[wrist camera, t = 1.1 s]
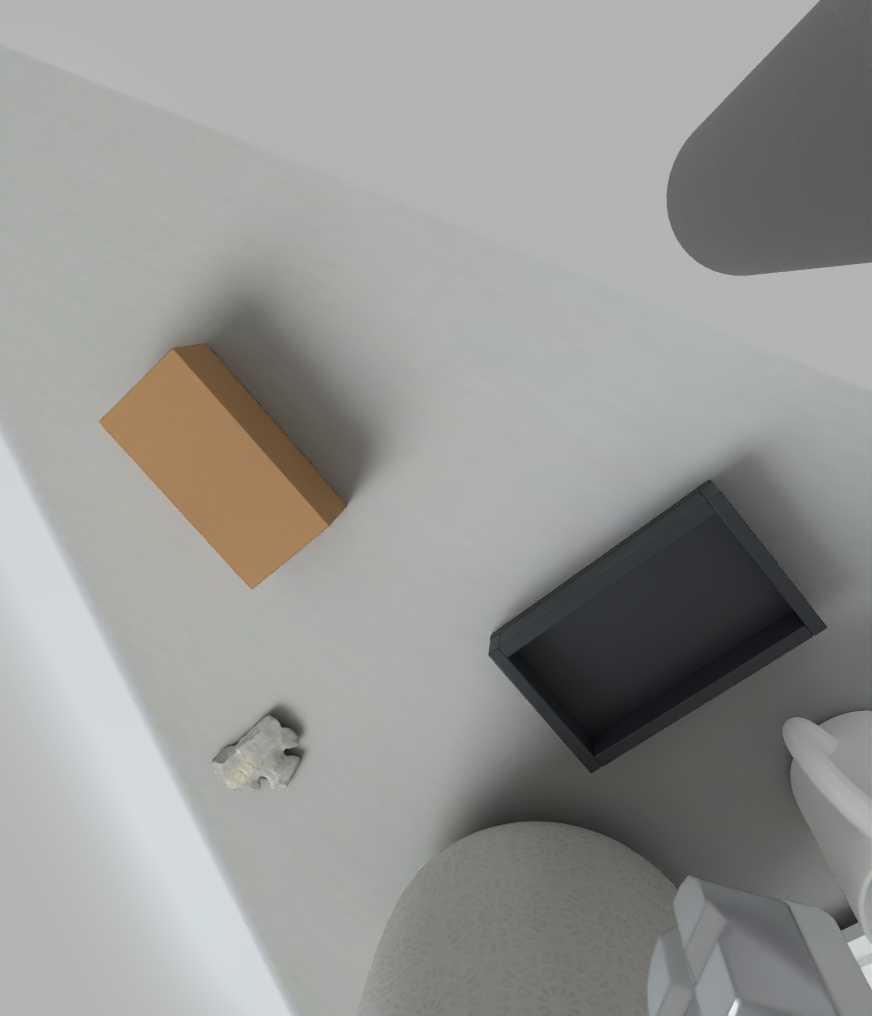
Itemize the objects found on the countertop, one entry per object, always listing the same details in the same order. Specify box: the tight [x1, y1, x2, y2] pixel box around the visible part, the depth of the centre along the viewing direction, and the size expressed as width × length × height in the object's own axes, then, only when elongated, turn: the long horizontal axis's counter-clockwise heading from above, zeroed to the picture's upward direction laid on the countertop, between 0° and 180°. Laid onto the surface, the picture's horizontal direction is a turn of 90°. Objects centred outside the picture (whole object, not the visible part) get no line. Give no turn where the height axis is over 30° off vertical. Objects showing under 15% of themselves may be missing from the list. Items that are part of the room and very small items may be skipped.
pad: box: [99, 344, 347, 589], centre depth 41 cm, size 6×12×4 cm, turn 40°
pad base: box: [489, 480, 827, 773], centre depth 41 cm, size 15×9×3 cm, turn 131°
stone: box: [212, 715, 300, 791], centre depth 48 cm, size 6×1×5 cm
